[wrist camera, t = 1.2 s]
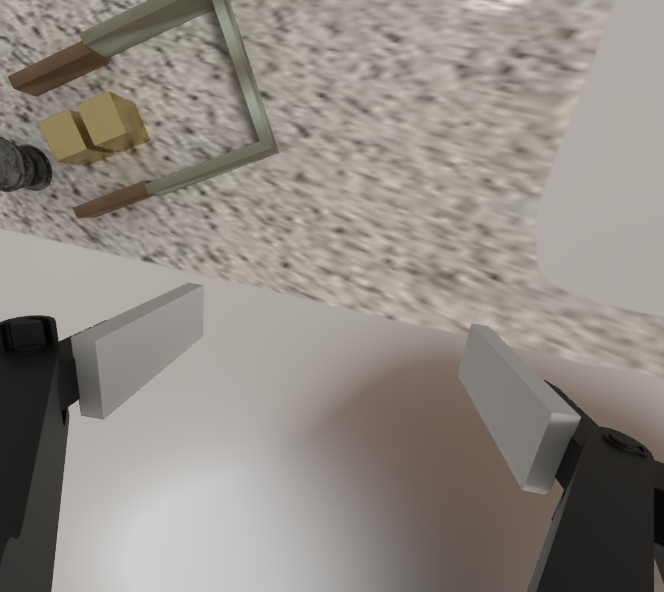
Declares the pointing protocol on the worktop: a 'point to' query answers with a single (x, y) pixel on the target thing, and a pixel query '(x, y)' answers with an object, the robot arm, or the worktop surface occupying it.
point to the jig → (129, 30)
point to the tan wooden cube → (71, 139)
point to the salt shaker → (23, 167)
